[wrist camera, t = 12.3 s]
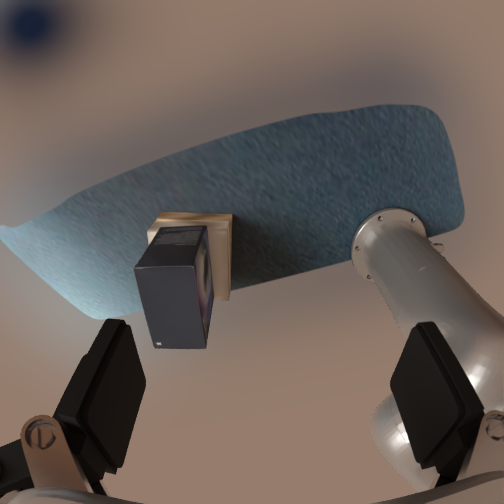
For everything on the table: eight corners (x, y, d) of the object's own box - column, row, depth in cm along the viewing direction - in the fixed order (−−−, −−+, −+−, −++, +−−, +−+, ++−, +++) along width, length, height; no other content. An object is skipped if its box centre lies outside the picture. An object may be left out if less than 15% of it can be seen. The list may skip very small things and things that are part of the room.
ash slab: (229, 220, 42) (226, 231, 39) (230, 286, 46) (229, 300, 43) (154, 221, 42) (147, 231, 39) (163, 284, 46) (157, 298, 43)
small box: (217, 297, 43) (209, 352, 33) (171, 298, 43) (152, 350, 34) (210, 223, 38) (195, 267, 29) (157, 226, 38) (129, 268, 29)
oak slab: (232, 212, 45) (230, 221, 42) (231, 274, 49) (229, 286, 46) (163, 210, 45) (156, 218, 42) (167, 270, 49) (162, 282, 46)
